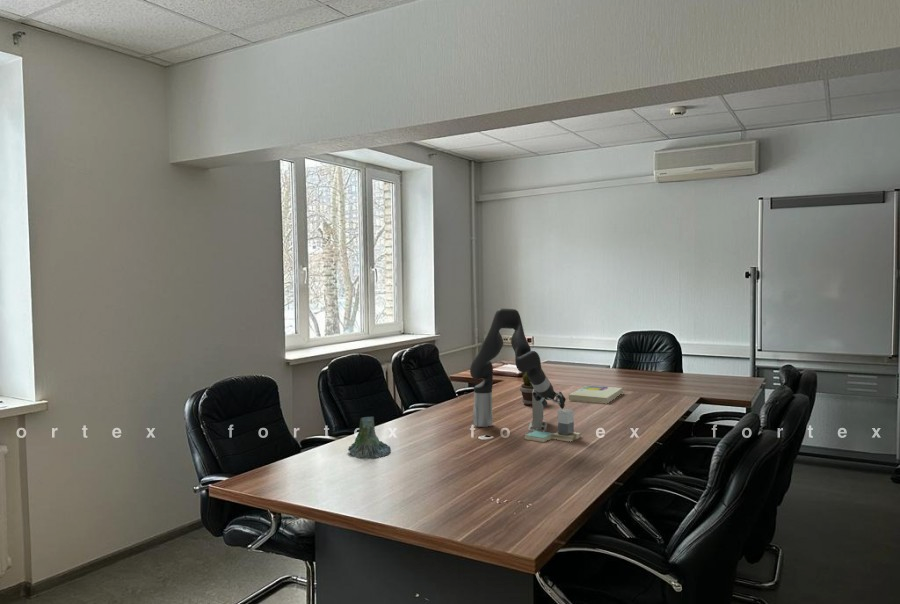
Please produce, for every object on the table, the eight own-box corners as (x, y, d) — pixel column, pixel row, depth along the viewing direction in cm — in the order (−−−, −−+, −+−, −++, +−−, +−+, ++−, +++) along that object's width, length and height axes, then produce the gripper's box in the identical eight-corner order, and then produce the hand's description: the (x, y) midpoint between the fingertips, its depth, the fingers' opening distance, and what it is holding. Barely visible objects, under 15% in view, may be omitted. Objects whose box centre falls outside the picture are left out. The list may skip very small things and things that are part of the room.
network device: (545, 433, 307) (544, 392, 306) (527, 433, 309) (526, 392, 308) (547, 421, 332) (547, 383, 331) (531, 421, 334) (530, 383, 333)
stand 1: (543, 442, 292) (543, 437, 291) (524, 439, 298) (524, 434, 297) (554, 437, 299) (554, 433, 299) (535, 434, 306) (535, 430, 305)
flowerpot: (549, 403, 379) (548, 369, 379) (538, 407, 367) (537, 373, 366) (526, 400, 387) (526, 368, 386) (515, 405, 374) (515, 371, 373)
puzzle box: (568, 402, 385) (607, 405, 373) (568, 394, 385) (607, 397, 373) (587, 392, 416) (623, 394, 404) (587, 385, 416) (623, 387, 404)
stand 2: (570, 441, 291) (570, 437, 291) (551, 438, 297) (551, 434, 297) (580, 437, 299) (580, 433, 299) (561, 434, 305) (561, 430, 305)
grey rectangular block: (567, 435, 294) (567, 412, 294) (558, 434, 297) (557, 411, 297) (573, 433, 299) (573, 409, 299) (564, 431, 302) (563, 408, 302)
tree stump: (351, 462, 268) (347, 419, 271) (347, 460, 287) (343, 420, 290) (394, 455, 273) (389, 413, 276) (387, 454, 292) (382, 415, 295)
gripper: (559, 379, 277) (571, 401, 287) (530, 376, 286) (543, 397, 295) (553, 393, 273) (566, 414, 283) (524, 390, 282) (537, 411, 291)
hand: (554, 406), depth 289 cm, fingers open, 8 cm apart
